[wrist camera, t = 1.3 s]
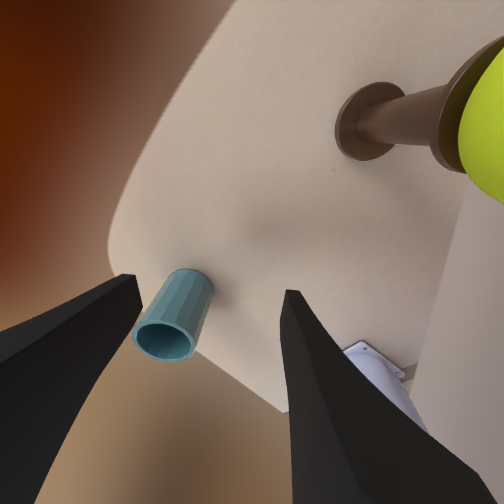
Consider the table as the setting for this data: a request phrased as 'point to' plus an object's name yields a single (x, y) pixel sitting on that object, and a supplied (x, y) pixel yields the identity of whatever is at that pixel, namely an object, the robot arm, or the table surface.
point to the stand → (411, 115)
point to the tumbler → (174, 317)
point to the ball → (485, 131)
